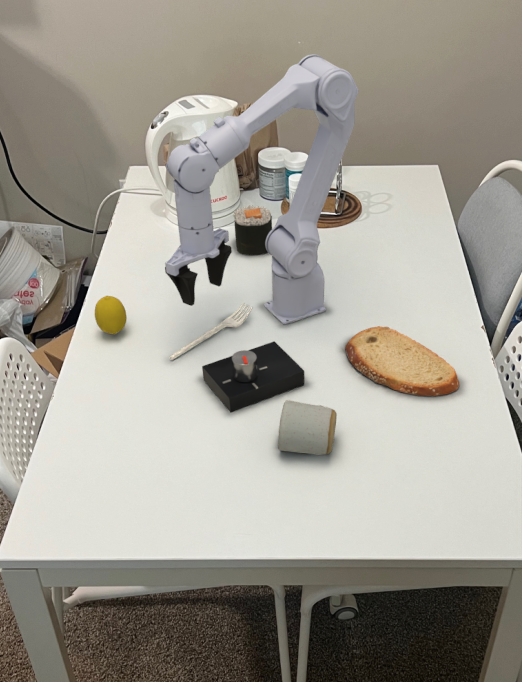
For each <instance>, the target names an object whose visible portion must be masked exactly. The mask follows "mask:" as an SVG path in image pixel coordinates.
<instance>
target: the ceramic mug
mask: <svg viewBox="0 0 522 682" xmlns="http://www.w3.org/2000/svg"><path fill="white" fill-rule="evenodd" d="M337 416H338V415H337V412H336V410H335V409H333V408H331V407H328V406H324V405H319V404H318V405H317V404H311V403H305V402H300V401H294V400H288V399H287V400H285V401H284V402H283V405H282V409H281V414H280V418H279V426H278V437H277V448H278V450H279V451H281V452H290V453H299V454H308V455H317V456H323V455H325V456H326V455H329V454H330V453H332V452H333V447H334V441H335V435H336V427H337V418H338V417H337Z"/></svg>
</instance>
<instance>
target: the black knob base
mask: <svg viewBox="0 0 522 682" xmlns="http://www.w3.org/2000/svg"><path fill="white" fill-rule="evenodd" d="M248 351H251V352H253V353H255V354H256V356H257V377H256V378H255V379H254V380H253V381H250V382H239V381H237V380H235V379H234V377H233V367H232V356H233V355H230V356H228V357H224V358H221V359H219V360H216V361H213V362H209V363H207V364H205V365H202V366H201V367H202V368H201V370H202V378H203V381H204V383H205V384H206V385H207V386H208V387H209V388H210V390H211V391H212V392H213V394H215V396H216V397H217V399H219V401H220V402H221V403H222V405H224V407H225V408H226V409H227V411H229V413H231V414H232V413H233V412H236V411H239V410H241V409H244V408H247V407H249V406H252V405H254V404H257V403H260V402H263V401H266V400H269V399H270V398H273V397H276V396H278V395H281V394H285V393H287V392H289V391H292V390H294V389H297V388H300V387H303V386H304V385H305V370H304V369H303V368H302V367H301V366H300V364H299V363H297V361H295V359H293V358H292V357H291V356H290V355H289V354H288V353H287V352H286V351H285V349H283V348H282V346H280V345H279V344H278V343H277V342H276V341H271V342H268V343H264V344H262V345H259V346H256V347H253V348H250V349H248Z"/></svg>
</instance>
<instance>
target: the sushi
mask: <svg viewBox="0 0 522 682" xmlns="http://www.w3.org/2000/svg"><path fill="white" fill-rule="evenodd" d="M232 216H233V217H234V236H235V237H234V239H235V246H236V247H235V248H236V251H237V252H238V254H241V255H242V256H260V255H265V254H269V253H268V252H267V250H266V246H265V241H266V238H267V235H268V234H269V232H270V231H271V230H272V229H273V217H272V216H273V215H272V213H271V211H270V210H269V209H267V207H265V206H258V205H257V206H254V205H248V206H245V207H244V206H243V207H242V208H241V207H239V208H238V210H237V209H235V210H234V211H233V215H232Z"/></svg>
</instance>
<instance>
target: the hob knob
mask: <svg viewBox="0 0 522 682" xmlns="http://www.w3.org/2000/svg"><path fill="white" fill-rule="evenodd" d="M248 350H249V349H248ZM248 350H246V349H244V350H238V351H235V352H234V353H233V355H231V356H232V367H233V377H234V379H235V380H237V381H239V382H250V381H253V380H254V379H255V378H256V377H257V356H256V354H255V353H253V352H251V351H248Z"/></svg>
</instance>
